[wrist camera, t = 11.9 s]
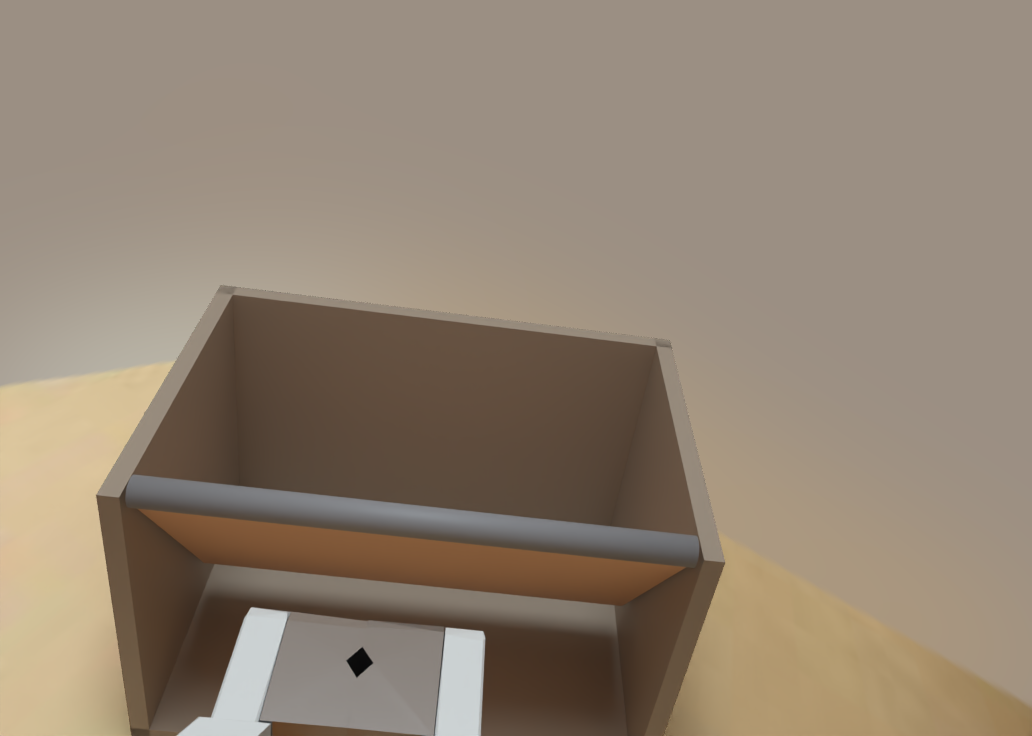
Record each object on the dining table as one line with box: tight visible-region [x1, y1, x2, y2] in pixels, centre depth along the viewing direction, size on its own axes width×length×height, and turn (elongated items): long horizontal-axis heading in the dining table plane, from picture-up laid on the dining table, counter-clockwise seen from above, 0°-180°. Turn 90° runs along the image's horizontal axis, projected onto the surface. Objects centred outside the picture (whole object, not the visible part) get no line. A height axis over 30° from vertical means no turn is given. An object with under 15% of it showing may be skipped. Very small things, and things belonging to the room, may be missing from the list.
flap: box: [125, 475, 699, 606], centre depth 40 cm, size 21×1×14 cm
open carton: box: [96, 285, 725, 736], centre depth 44 cm, size 23×16×14 cm
